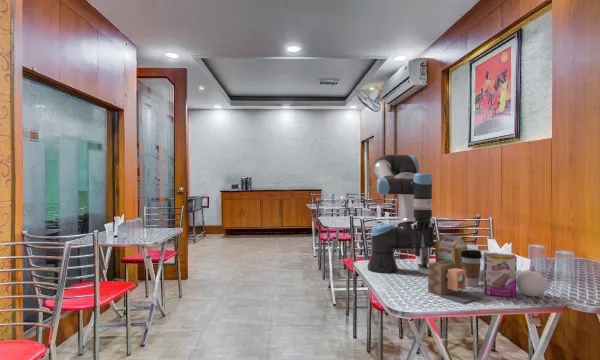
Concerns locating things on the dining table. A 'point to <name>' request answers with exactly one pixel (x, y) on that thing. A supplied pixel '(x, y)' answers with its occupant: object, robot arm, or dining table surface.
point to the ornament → (531, 282)
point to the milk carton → (450, 249)
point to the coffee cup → (471, 266)
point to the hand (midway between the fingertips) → (422, 262)
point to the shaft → (424, 268)
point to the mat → (461, 297)
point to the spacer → (456, 279)
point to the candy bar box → (500, 274)
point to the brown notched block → (439, 277)
